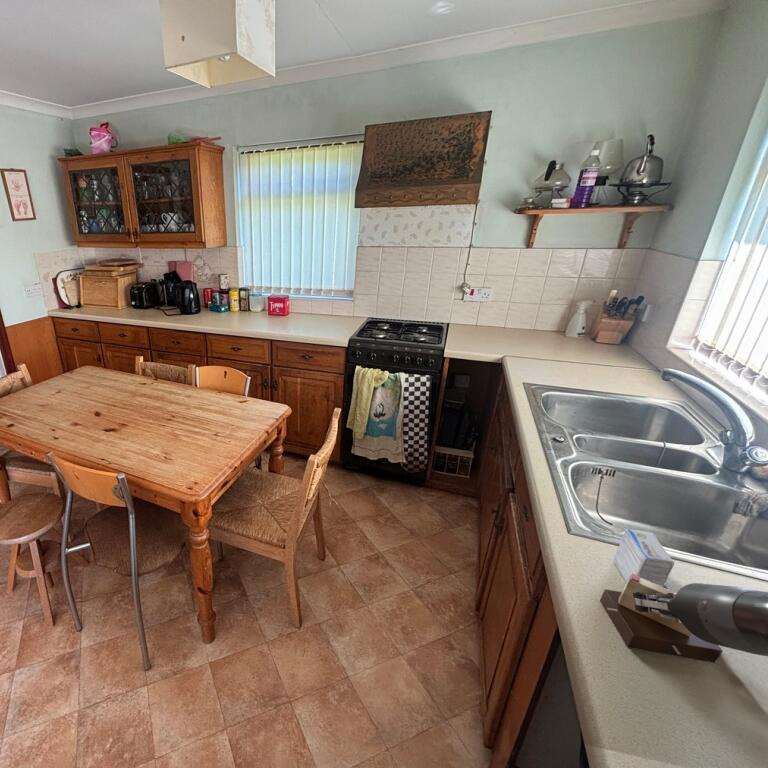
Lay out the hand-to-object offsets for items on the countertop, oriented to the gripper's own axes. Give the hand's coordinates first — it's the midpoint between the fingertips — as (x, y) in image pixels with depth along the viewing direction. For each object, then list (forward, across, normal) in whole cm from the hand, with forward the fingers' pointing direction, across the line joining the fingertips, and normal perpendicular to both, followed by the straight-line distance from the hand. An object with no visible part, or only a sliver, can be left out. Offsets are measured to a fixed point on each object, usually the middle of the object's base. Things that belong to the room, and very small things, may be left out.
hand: (642, 601), depth 69 cm
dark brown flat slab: (+5, +4, -4) cm, 7 cm away
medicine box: (+13, +7, +4) cm, 15 cm away
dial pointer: (+3, +3, -2) cm, 4 cm away
